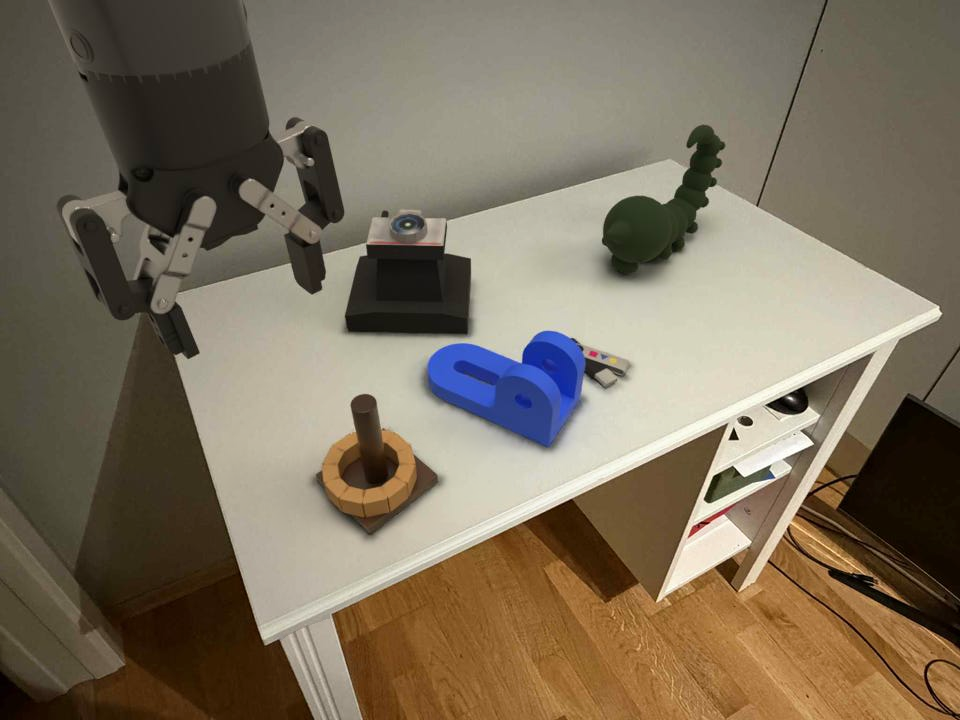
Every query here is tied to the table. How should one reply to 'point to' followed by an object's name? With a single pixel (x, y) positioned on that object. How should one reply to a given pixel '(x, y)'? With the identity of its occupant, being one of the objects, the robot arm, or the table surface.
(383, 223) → the camera
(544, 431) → the bracket
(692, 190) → the toy figurine
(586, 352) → the usb flash drive
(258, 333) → the table surface
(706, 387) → the table surface
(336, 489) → the orange segmented ring
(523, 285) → the table surface
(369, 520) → the brown peg stand
